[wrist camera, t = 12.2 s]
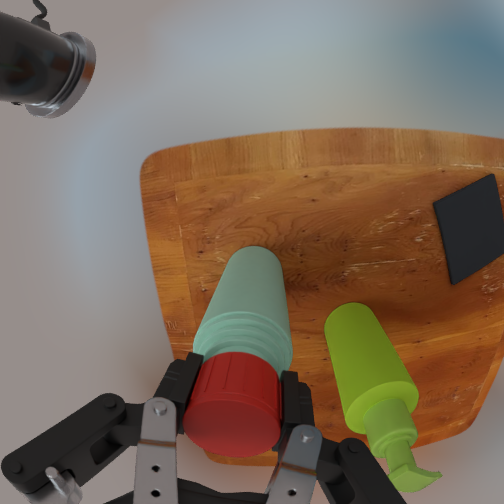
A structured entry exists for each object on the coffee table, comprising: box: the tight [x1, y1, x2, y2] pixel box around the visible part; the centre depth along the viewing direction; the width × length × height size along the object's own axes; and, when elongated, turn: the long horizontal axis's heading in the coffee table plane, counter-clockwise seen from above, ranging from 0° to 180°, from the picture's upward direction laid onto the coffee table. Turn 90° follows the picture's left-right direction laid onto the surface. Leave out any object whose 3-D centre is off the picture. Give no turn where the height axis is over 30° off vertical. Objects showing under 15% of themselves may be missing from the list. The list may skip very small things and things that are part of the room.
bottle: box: [193, 246, 293, 379], centre depth 20 cm, size 6×6×19 cm
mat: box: [433, 174, 504, 285], centre depth 25 cm, size 10×10×1 cm
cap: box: [182, 352, 281, 457], centre depth 11 cm, size 4×4×3 cm
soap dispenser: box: [324, 303, 442, 492], centre depth 20 cm, size 6×7×20 cm
